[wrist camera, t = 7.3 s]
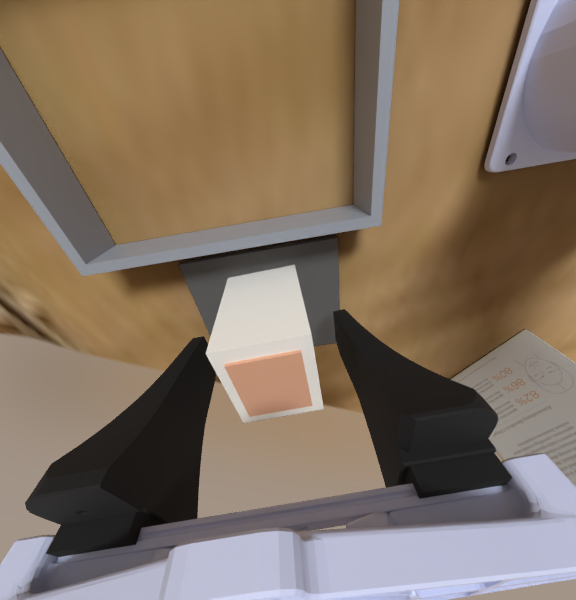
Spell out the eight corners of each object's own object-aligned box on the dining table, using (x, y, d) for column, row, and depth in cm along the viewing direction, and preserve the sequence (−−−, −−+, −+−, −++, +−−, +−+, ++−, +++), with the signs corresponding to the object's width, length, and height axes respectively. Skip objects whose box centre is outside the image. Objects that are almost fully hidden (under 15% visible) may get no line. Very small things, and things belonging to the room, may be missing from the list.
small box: (472, 398, 24) (590, 542, 15) (441, 382, 22) (558, 537, 13) (553, 351, 21) (762, 500, 12) (525, 326, 19) (756, 485, 10)
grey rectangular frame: (378, -267, 6) (438, -489, 4) (362, 212, 13) (381, 225, 11) (-143, -162, 6) (-352, -319, 4) (112, 255, 13) (82, 276, 11)
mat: (335, 235, 13) (337, 238, 13) (338, 337, 18) (340, 342, 17) (181, 261, 13) (178, 264, 13) (222, 356, 18) (221, 361, 17)
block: (294, 264, 13) (312, 336, 8) (306, 328, 16) (324, 412, 11) (227, 277, 14) (204, 356, 8) (250, 339, 16) (243, 426, 11)
